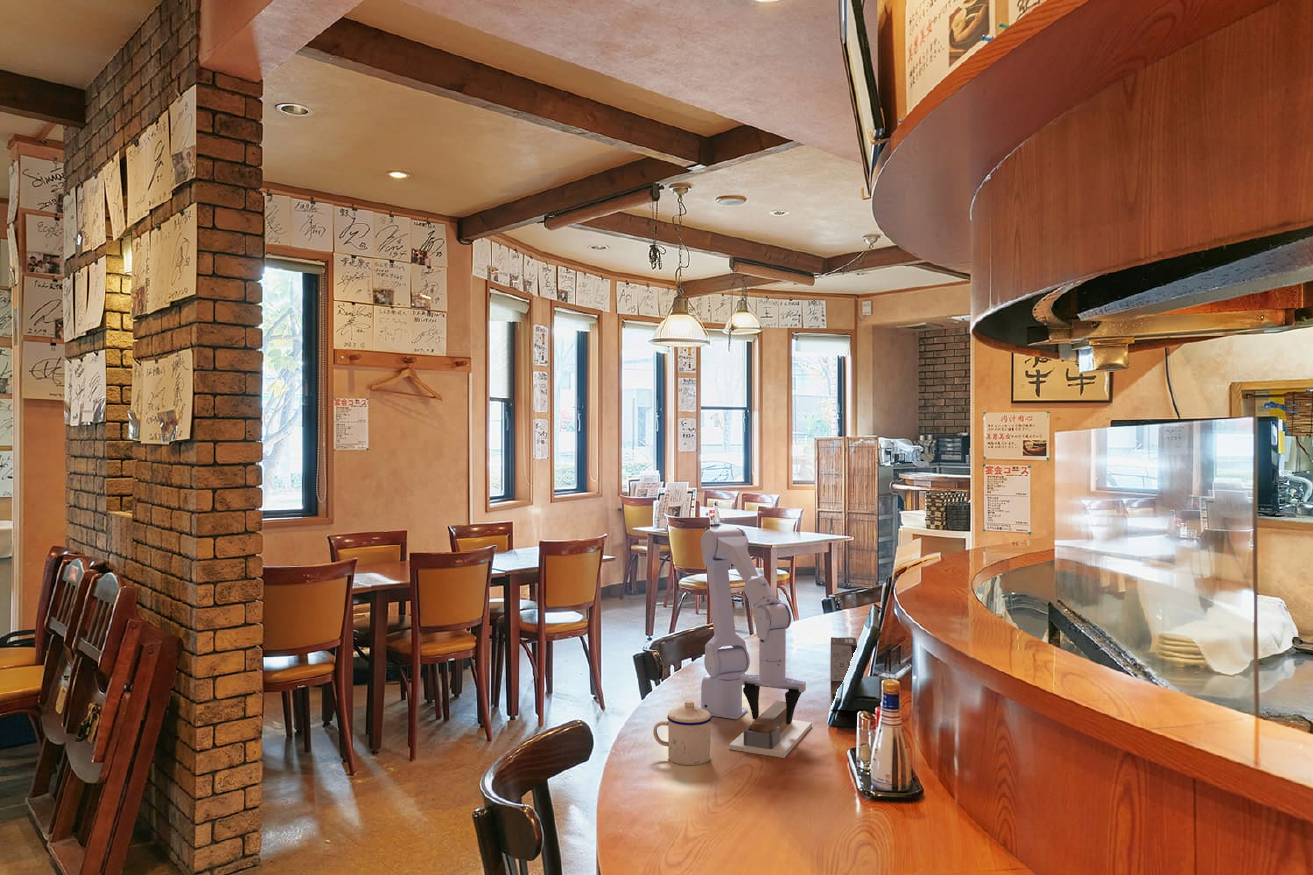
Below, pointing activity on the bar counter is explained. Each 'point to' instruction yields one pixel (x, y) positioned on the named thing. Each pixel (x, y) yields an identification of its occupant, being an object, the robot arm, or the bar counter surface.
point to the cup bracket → (771, 739)
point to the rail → (771, 719)
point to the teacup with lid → (687, 734)
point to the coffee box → (840, 661)
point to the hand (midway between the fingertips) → (772, 720)
